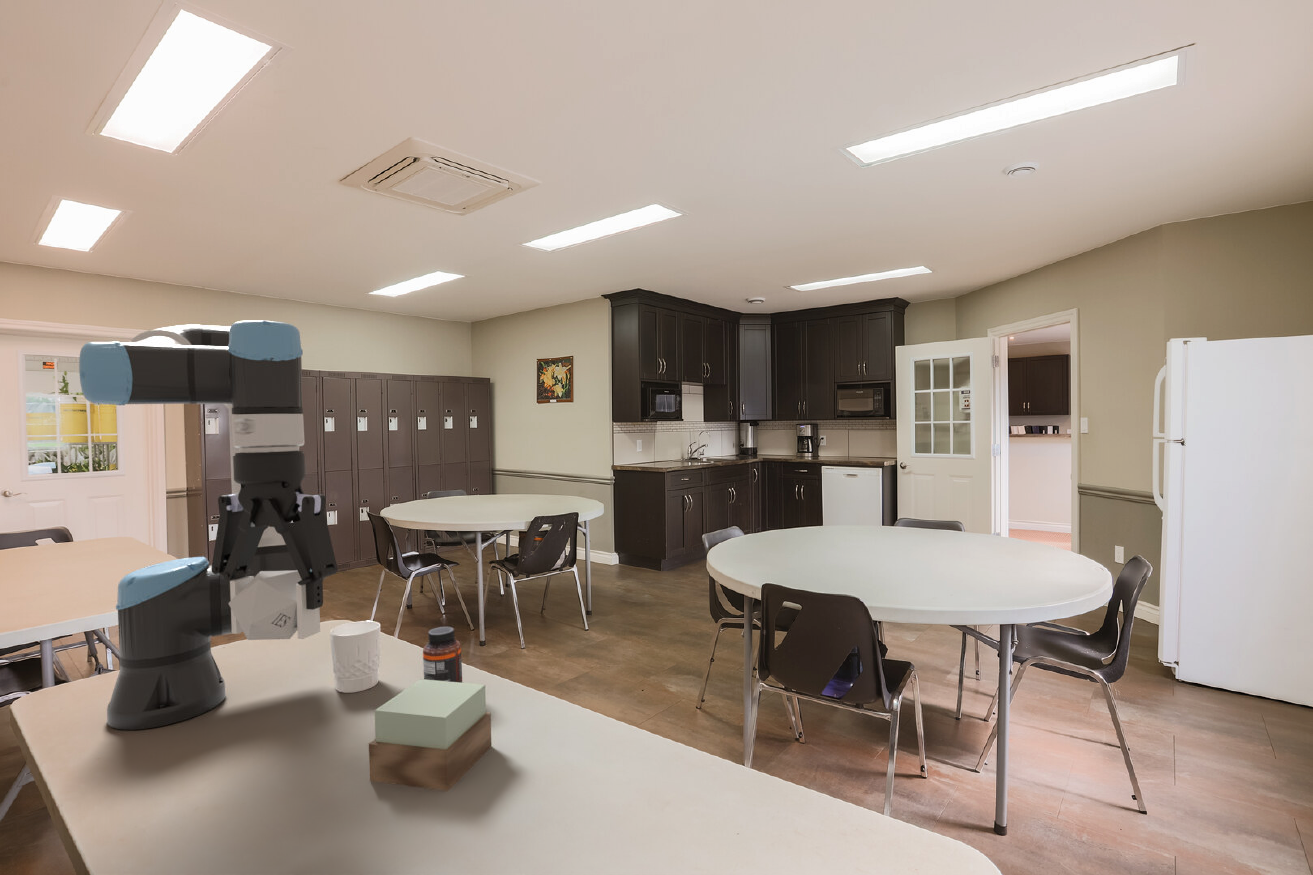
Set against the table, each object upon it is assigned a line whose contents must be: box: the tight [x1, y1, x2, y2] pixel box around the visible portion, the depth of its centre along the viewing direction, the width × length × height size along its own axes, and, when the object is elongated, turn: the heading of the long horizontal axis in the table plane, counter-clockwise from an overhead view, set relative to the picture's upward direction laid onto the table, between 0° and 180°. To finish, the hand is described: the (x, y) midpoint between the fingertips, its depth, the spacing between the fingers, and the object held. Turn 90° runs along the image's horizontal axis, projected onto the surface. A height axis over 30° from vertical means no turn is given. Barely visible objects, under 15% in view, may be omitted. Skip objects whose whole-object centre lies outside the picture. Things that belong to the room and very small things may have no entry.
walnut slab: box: [368, 712, 492, 792], centre depth 85 cm, size 11×11×5 cm
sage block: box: [374, 678, 487, 749], centre depth 85 cm, size 10×10×4 cm
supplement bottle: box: [422, 626, 463, 683], centre depth 105 cm, size 6×6×11 cm
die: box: [228, 570, 302, 641], centre depth 79 cm, size 8×9×10 cm
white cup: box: [329, 620, 381, 694], centre depth 111 cm, size 8×8×10 cm
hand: (276, 632), depth 79 cm, fingers closed on die, 9 cm apart
